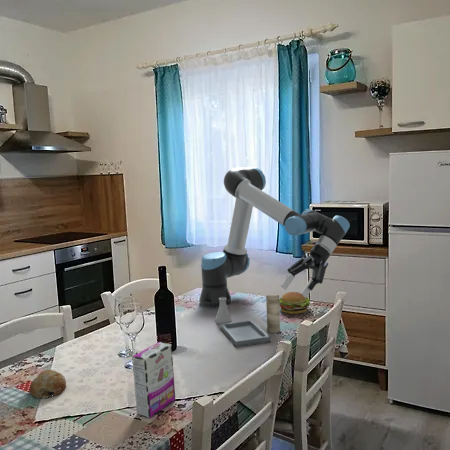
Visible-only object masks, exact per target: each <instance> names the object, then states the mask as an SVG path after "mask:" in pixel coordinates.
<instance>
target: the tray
mask: <svg viewBox="0 0 450 450" xmlns="http://www.w3.org/2000/svg"><path fill="white" fill-rule="evenodd" d="M220 330H221V331H222V332H223V333H224V334H225V336H226V337H227V338H228V339H229V340H230V341H231V342H232V344H233V345H234V346H235V347H236V348H240V347H246V346H251V345H252V346H253V345H258V344H264V343H265V344H266V343H271V336H270V335H269V334H268V333H267V331H264V329H262V328H261V327H260V326H259V325H258V324H256V323H255V322H254V321H253V320H252V319H250V320H241V321H232V322H230V323H225V324H220Z"/></svg>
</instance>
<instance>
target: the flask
mask: <svg viewBox="0 0 450 450" xmlns="http://www.w3.org/2000/svg"><path fill="white" fill-rule="evenodd" d="M219 301H220V305H219V307H218V310H217V313H216V317H215V320H214V322H215V324H218V325H221V324H225V323H233V320H232V318H231V315H230V312H229V309H228V307H227V306H228V305H227V306H226V298H219Z"/></svg>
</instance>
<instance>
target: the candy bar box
mask: <svg viewBox="0 0 450 450" xmlns="http://www.w3.org/2000/svg"><path fill="white" fill-rule="evenodd" d="M131 360H132V368H133V369H132V372H133V381H134V392H135V403H136V404H135V406H136V407H135V408H136V414H137V415H139V416H140V417H141V416H142V417H145V418H148V419H151V418H153V417H154V416H156V414H158V413H160V412H161V411H162V410H163V409H165V408H166V407H168V406H169V405H171V403H173V402H174V401H176V393H175V392H176V390H175V388H176V387H175V376H174V361H173V347H172V344H170V343H167V342H162V341H158V342H157V343H154V344H152V345H150V346H149V347H147V348H145V349H143V350H141V351H140V352H137V353H136V354H134V355H132V359H131Z"/></svg>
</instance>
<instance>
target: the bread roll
mask: <svg viewBox="0 0 450 450" xmlns="http://www.w3.org/2000/svg"><path fill="white" fill-rule="evenodd" d="M29 388H30V389H29V393H30V395H31V396H32V397H34V396H35V398H37V399H43V398H46V399H48V397H49V398H51V397H50V396H52V395H56V394H59V393H61V392H63V391H64V392H65V390H66V388H67V380H66V377H65V376H64V375H63V374H62V373H61V372H59V371H56V370H53V369H50V370H49V369H47V370H44V371H42V372H40V373H39V374H38V376H36V377H35V378H34V379H32V381H31V383H30V386H29ZM64 392H63V393H64ZM61 394H62V393H61ZM59 395H60V394H59ZM56 396H57V395H56Z"/></svg>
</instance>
